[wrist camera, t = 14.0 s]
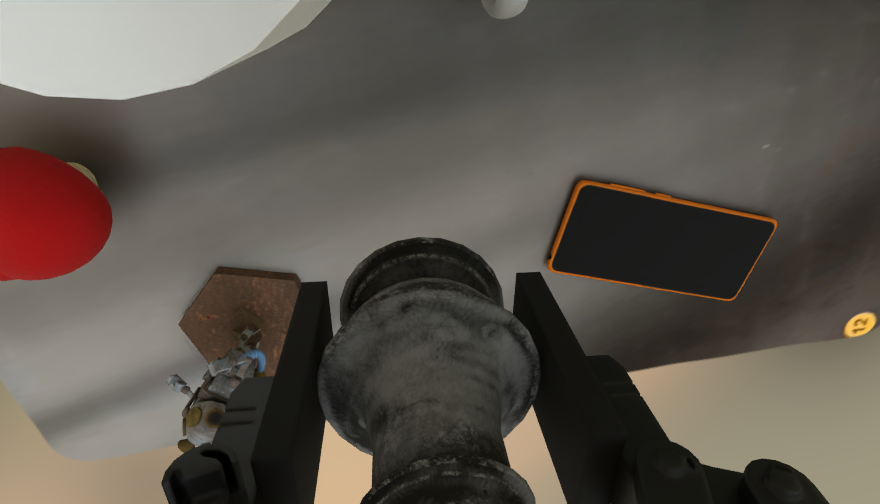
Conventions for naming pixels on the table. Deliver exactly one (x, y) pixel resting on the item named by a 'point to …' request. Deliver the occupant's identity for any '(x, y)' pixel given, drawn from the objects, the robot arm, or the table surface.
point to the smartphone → (657, 241)
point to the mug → (504, 8)
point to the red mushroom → (48, 215)
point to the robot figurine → (233, 341)
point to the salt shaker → (430, 376)
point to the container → (136, 42)
